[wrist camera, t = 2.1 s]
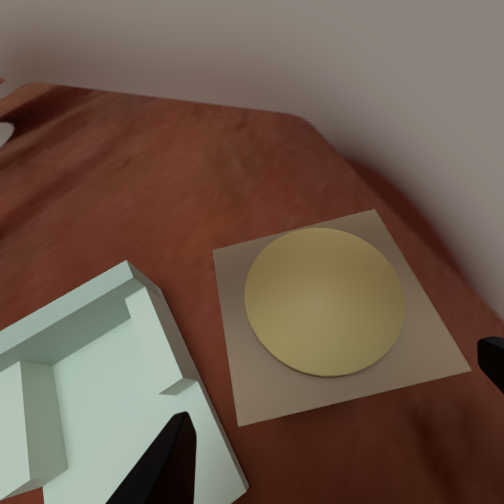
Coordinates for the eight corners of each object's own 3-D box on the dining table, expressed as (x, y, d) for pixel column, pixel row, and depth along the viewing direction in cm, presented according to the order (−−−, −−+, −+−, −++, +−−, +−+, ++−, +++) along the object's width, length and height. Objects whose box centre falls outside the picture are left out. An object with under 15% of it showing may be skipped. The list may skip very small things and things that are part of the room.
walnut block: (356, 392, 16) (490, 367, 5) (275, 411, 16) (232, 429, 5) (329, 320, 18) (380, 195, 7) (259, 337, 18) (206, 239, 7)
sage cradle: (249, 486, 14) (229, 521, 10) (74, 622, 13) (-40, 735, 8) (160, 289, 21) (126, 260, 17) (41, 360, 19) (-31, 348, 15)
